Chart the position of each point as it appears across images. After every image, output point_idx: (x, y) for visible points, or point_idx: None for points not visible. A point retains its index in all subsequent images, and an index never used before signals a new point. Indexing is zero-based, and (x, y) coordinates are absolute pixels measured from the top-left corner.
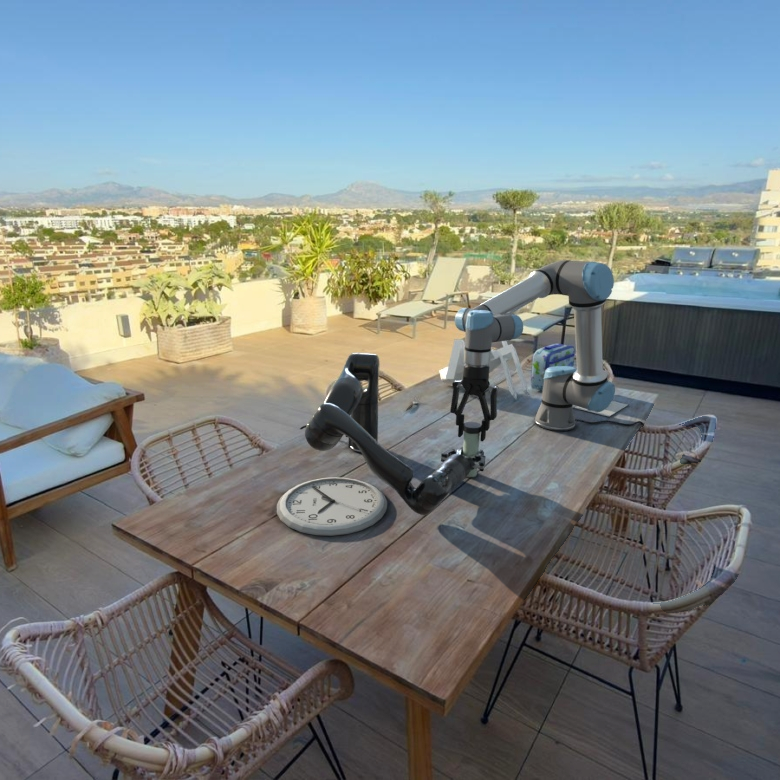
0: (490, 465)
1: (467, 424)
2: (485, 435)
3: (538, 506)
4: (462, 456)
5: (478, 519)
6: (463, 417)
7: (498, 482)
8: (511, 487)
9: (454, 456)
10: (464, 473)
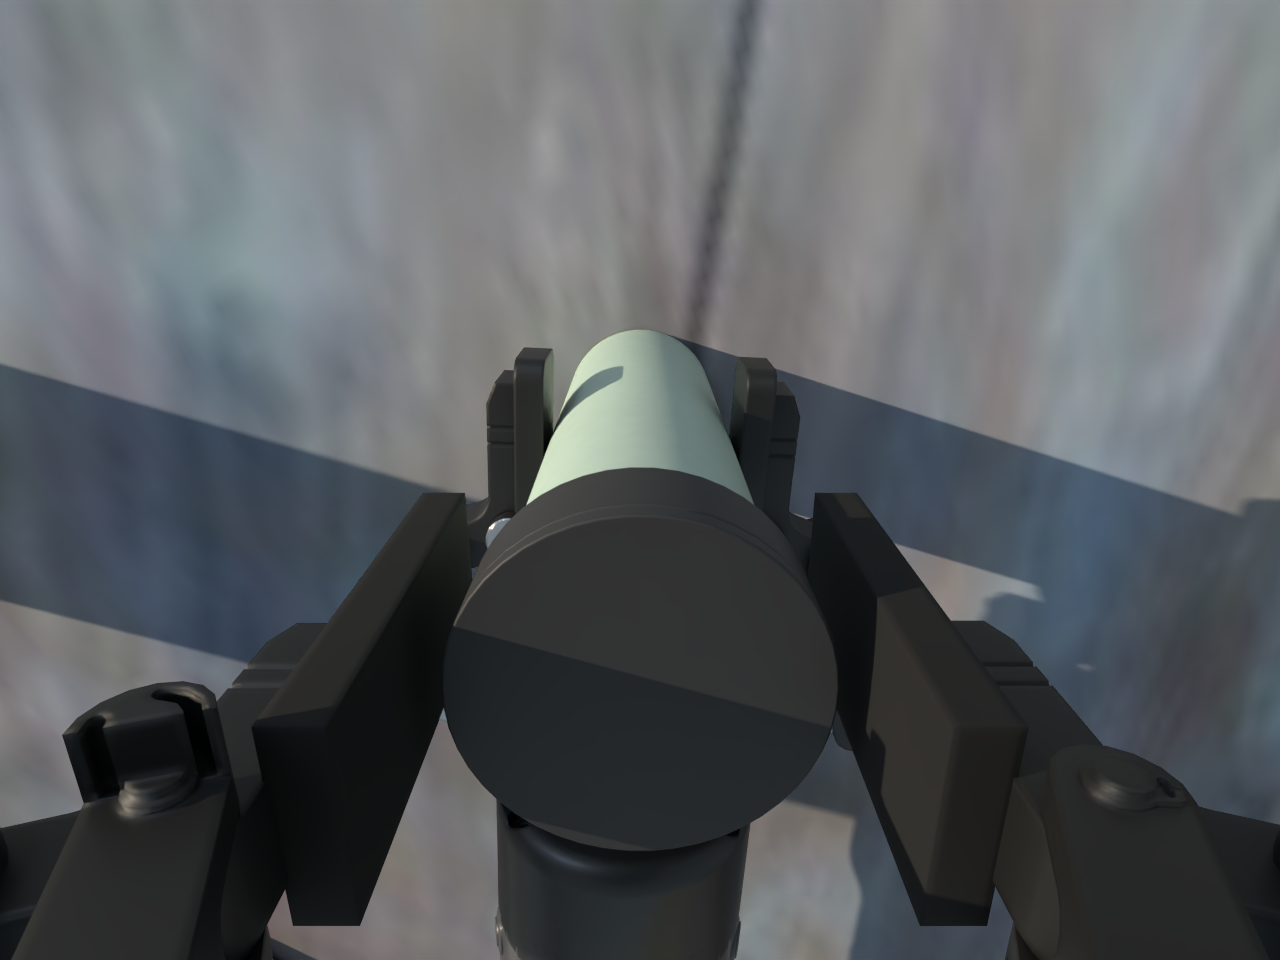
0: (781, 94)
1: (535, 725)
2: (873, 522)
3: (1253, 653)
4: (672, 900)
5: (879, 931)
6: (360, 744)
7: (923, 433)
8: (1041, 468)
9: (600, 952)
10: (740, 926)
